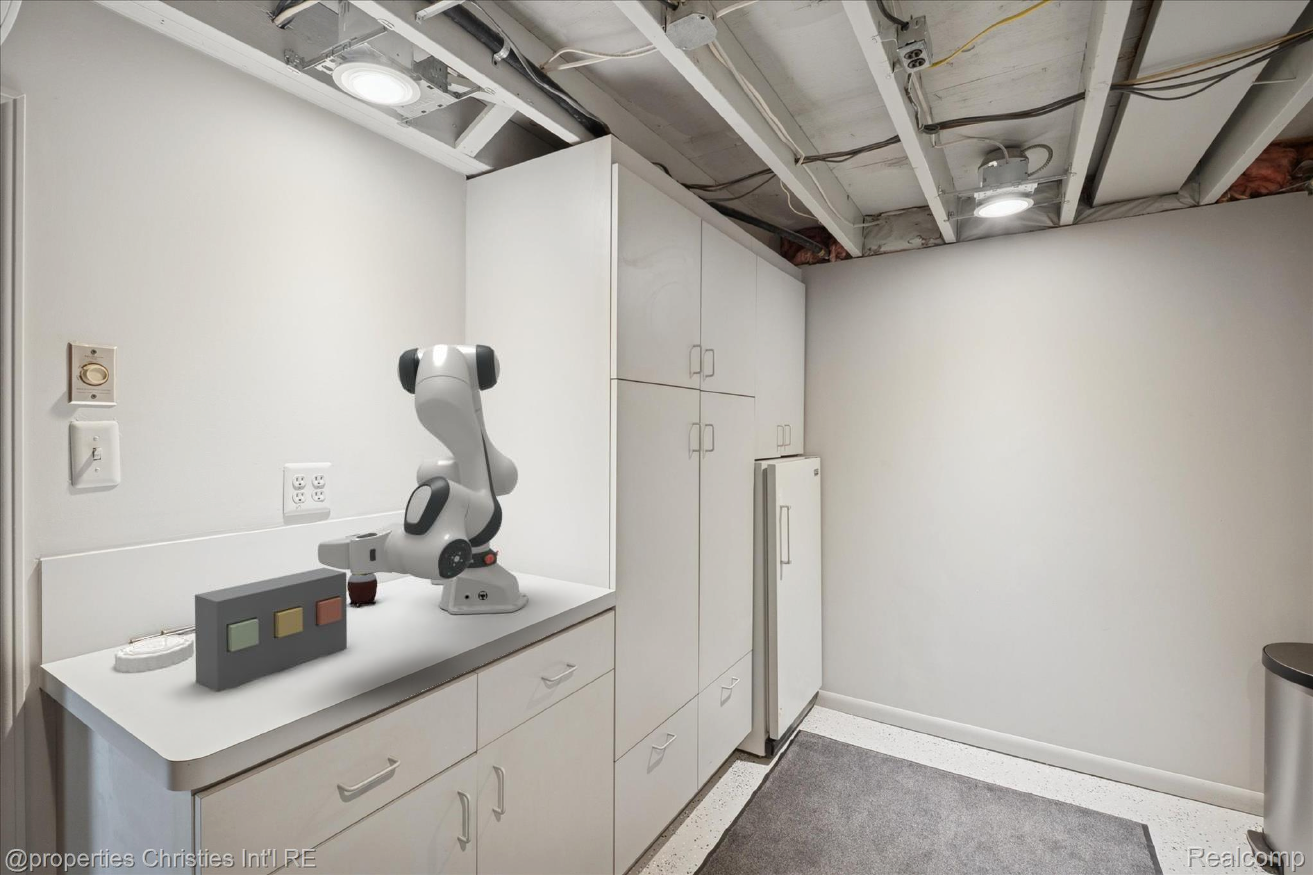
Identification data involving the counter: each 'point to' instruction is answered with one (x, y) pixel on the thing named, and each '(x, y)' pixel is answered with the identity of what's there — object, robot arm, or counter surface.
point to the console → (266, 626)
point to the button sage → (242, 634)
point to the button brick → (328, 610)
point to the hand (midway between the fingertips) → (352, 539)
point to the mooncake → (154, 653)
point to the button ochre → (288, 621)
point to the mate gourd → (362, 589)
